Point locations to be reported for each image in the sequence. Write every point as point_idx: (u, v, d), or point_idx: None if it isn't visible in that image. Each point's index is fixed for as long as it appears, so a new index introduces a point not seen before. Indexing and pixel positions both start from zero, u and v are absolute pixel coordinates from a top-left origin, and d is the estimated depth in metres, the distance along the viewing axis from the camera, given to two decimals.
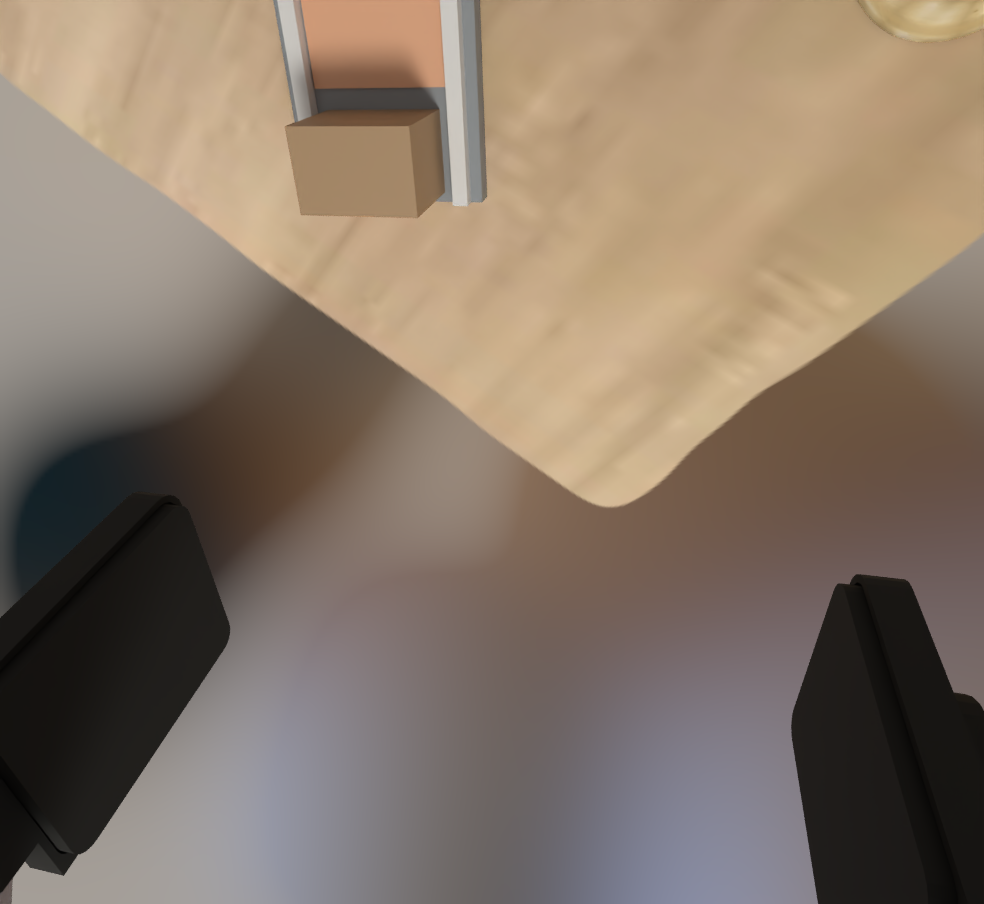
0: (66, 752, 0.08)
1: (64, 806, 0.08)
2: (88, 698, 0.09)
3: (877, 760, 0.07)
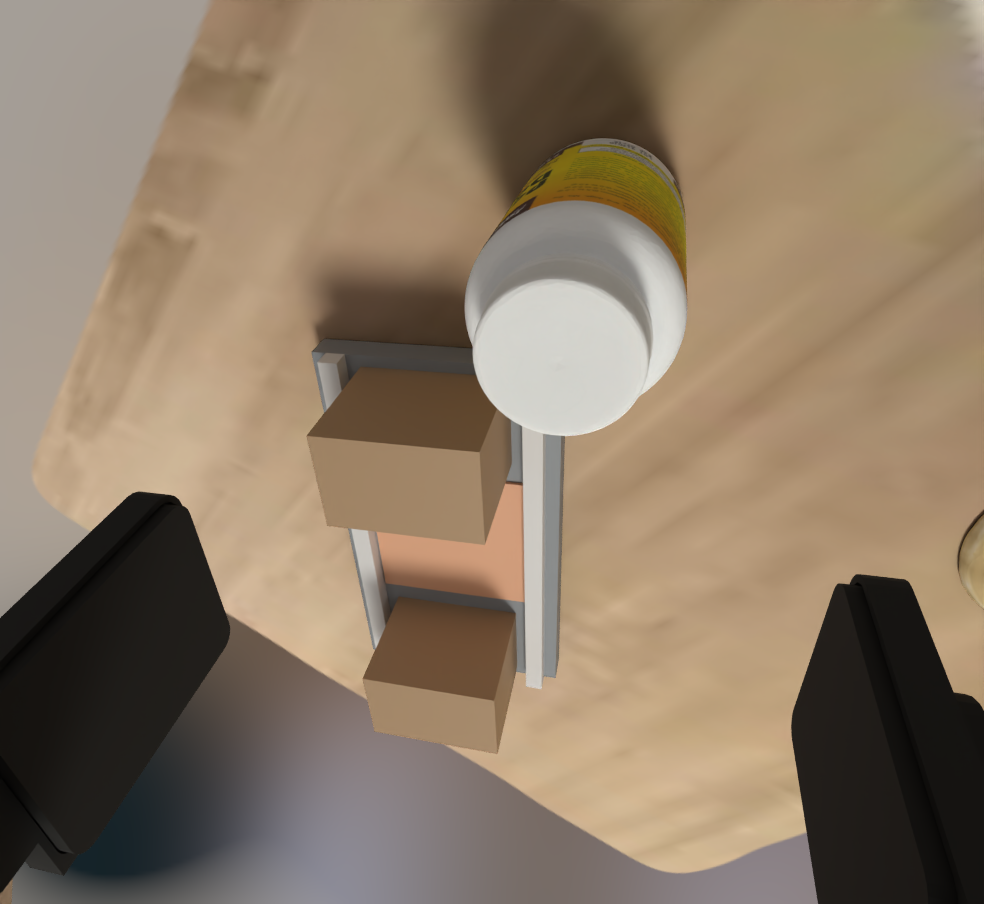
0: (66, 752, 0.08)
1: (64, 806, 0.08)
2: (88, 698, 0.09)
3: (876, 760, 0.07)
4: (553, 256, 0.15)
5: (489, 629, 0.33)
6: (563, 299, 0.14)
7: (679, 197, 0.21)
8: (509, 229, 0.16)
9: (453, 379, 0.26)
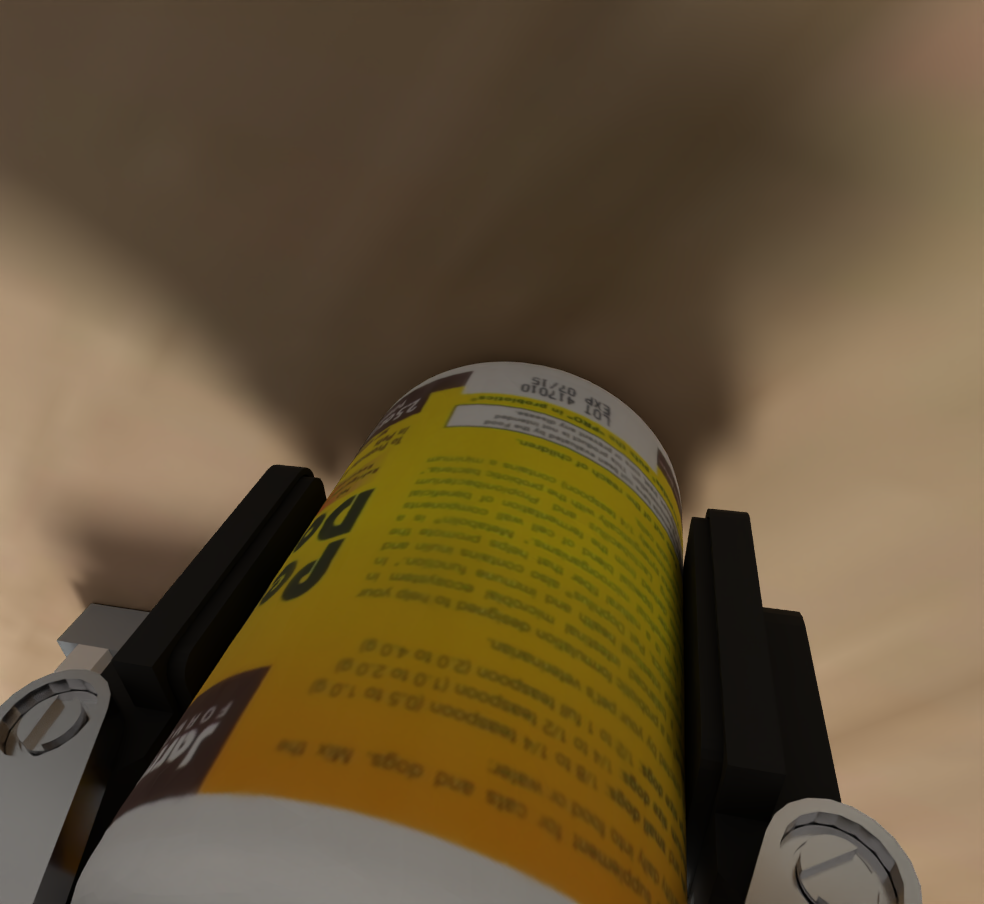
0: None
1: None
2: None
3: (694, 655, 0.08)
4: None
5: None
6: None
7: (669, 496, 0.10)
8: (121, 880, 0.05)
9: None
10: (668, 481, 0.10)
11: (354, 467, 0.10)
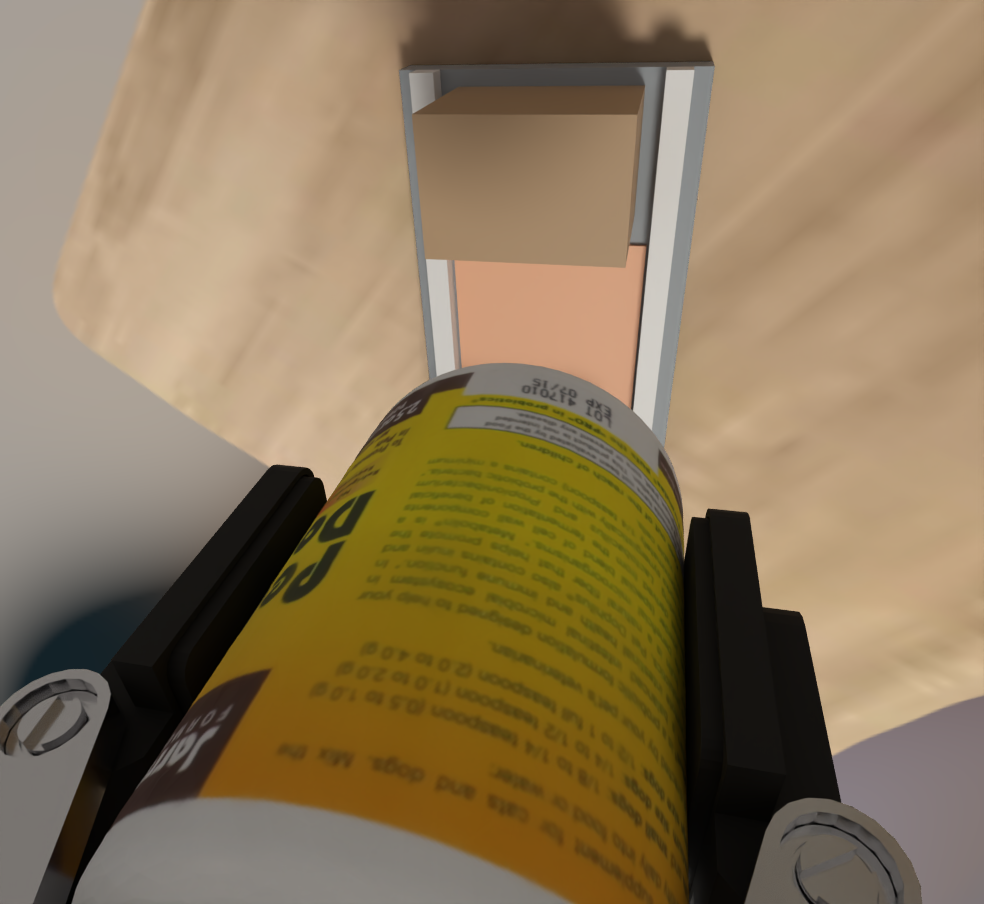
0: None
1: None
2: None
3: (693, 655, 0.08)
4: None
5: None
6: None
7: (670, 498, 0.10)
8: (119, 886, 0.05)
9: (576, 87, 0.21)
10: (669, 482, 0.10)
11: (354, 469, 0.09)
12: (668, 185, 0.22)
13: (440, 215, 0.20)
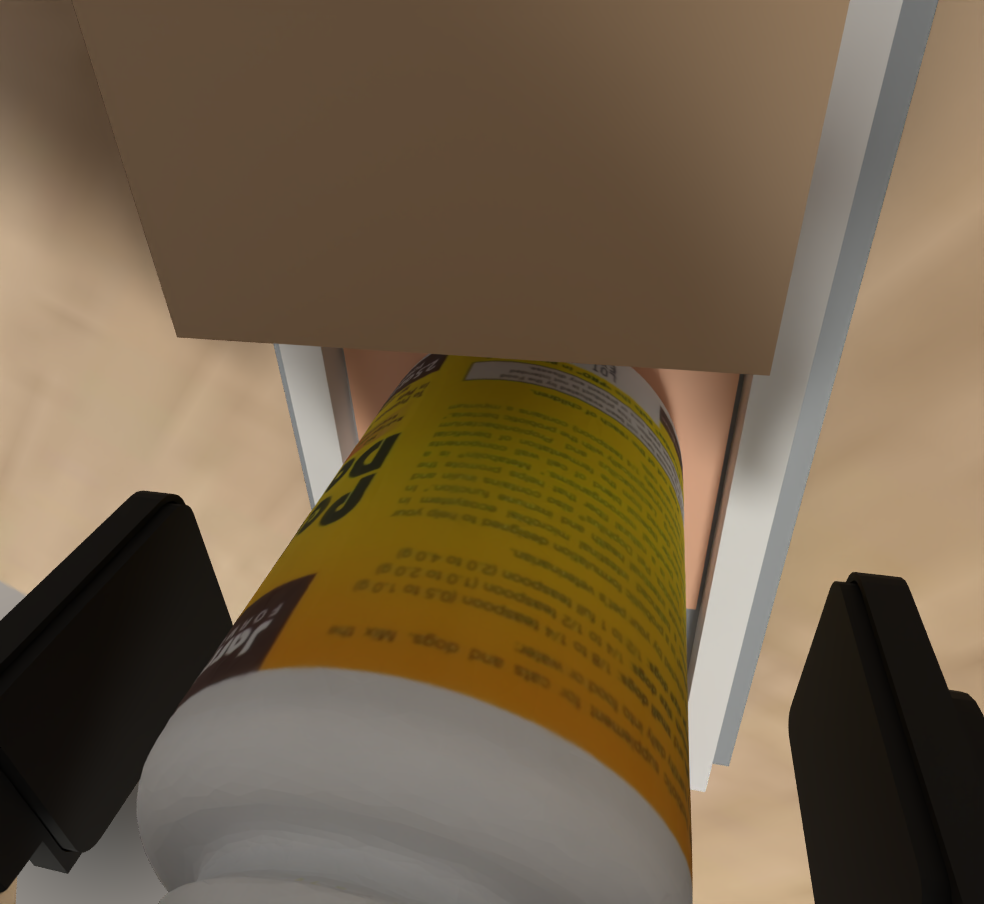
0: (70, 750, 0.08)
1: (68, 804, 0.08)
2: (92, 696, 0.09)
3: (872, 757, 0.07)
4: (281, 901, 0.05)
5: None
6: None
7: (671, 449, 0.11)
8: (193, 741, 0.06)
9: None
10: (670, 436, 0.11)
11: (378, 420, 0.10)
12: (835, 140, 0.09)
13: (192, 211, 0.07)
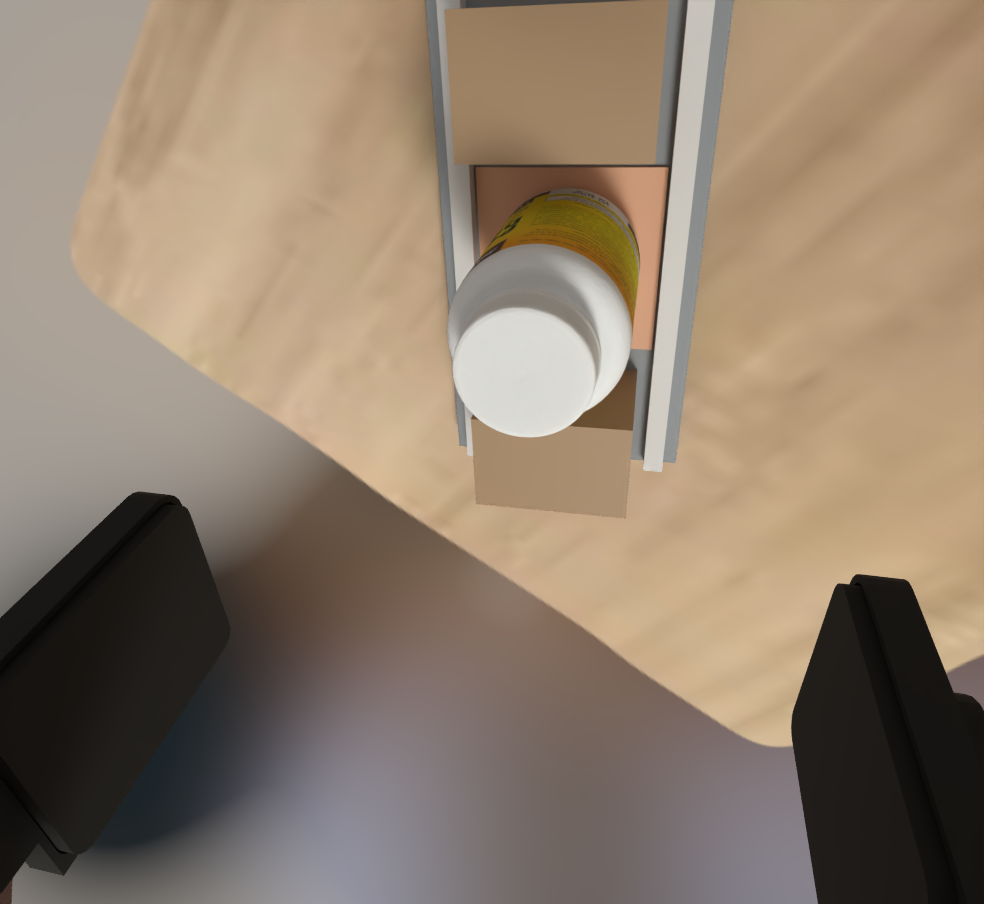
0: (66, 752, 0.08)
1: (64, 806, 0.08)
2: (88, 698, 0.09)
3: (877, 760, 0.07)
4: (518, 289, 0.19)
5: None
6: (525, 324, 0.18)
7: (632, 238, 0.24)
8: (482, 267, 0.19)
9: None
10: (632, 234, 0.25)
11: (507, 221, 0.24)
12: (691, 98, 0.23)
13: (470, 116, 0.20)
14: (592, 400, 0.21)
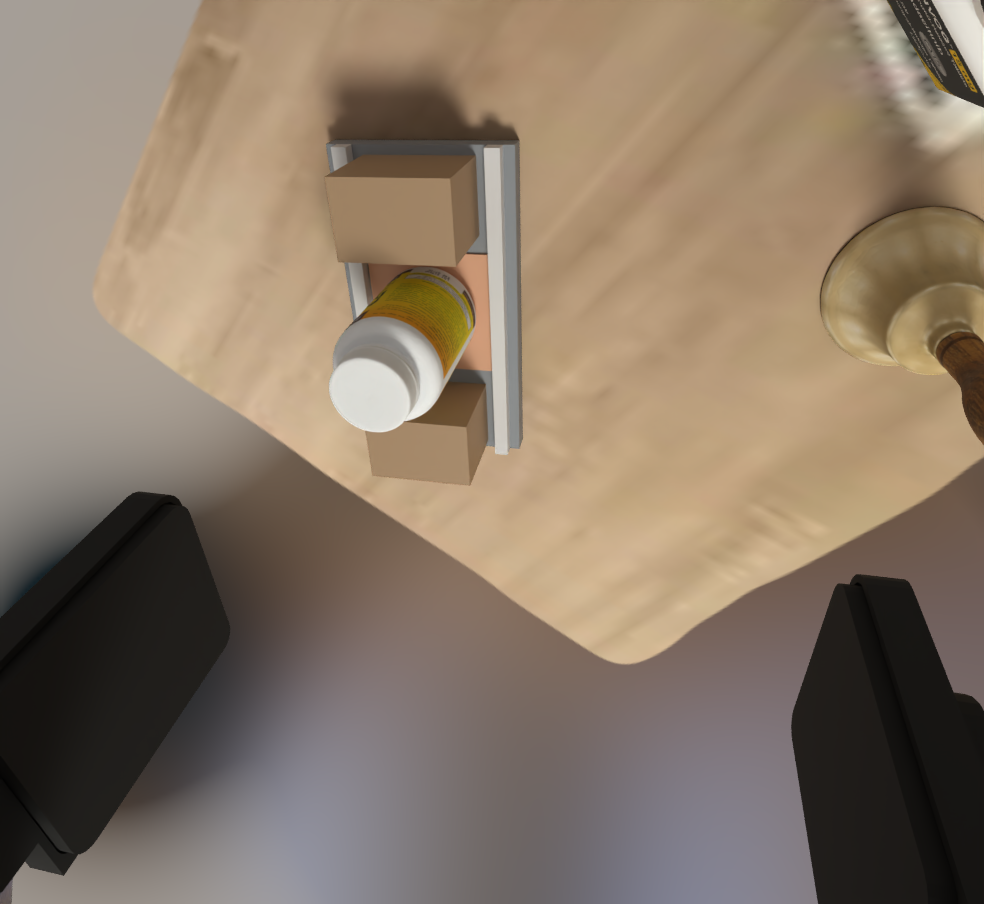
0: (66, 752, 0.08)
1: (64, 806, 0.08)
2: (88, 698, 0.09)
3: (877, 760, 0.07)
4: (367, 345, 0.32)
5: (464, 392, 0.41)
6: (366, 367, 0.31)
7: (465, 301, 0.37)
8: (349, 330, 0.32)
9: (433, 156, 0.35)
10: (466, 298, 0.38)
11: (381, 291, 0.37)
12: (494, 216, 0.35)
13: (345, 235, 0.33)
14: (421, 409, 0.34)
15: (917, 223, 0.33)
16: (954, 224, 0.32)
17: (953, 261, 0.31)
